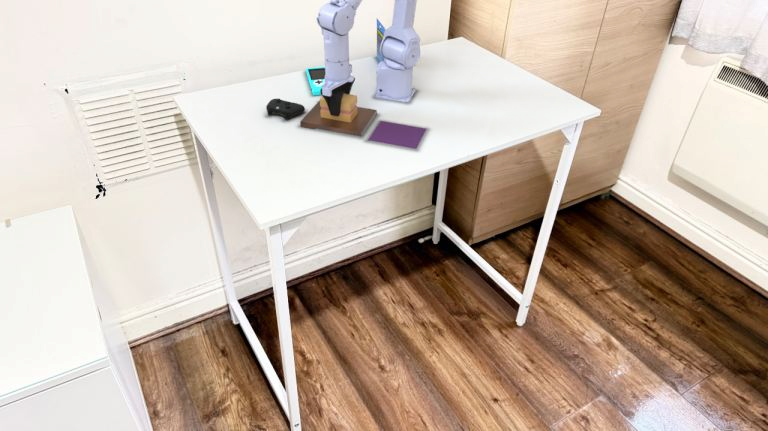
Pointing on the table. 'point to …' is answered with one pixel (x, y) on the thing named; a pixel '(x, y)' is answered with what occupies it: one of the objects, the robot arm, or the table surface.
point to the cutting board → (353, 128)
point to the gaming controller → (284, 108)
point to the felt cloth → (397, 134)
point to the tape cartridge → (379, 39)
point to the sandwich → (346, 110)
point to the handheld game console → (316, 79)
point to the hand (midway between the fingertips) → (339, 110)
